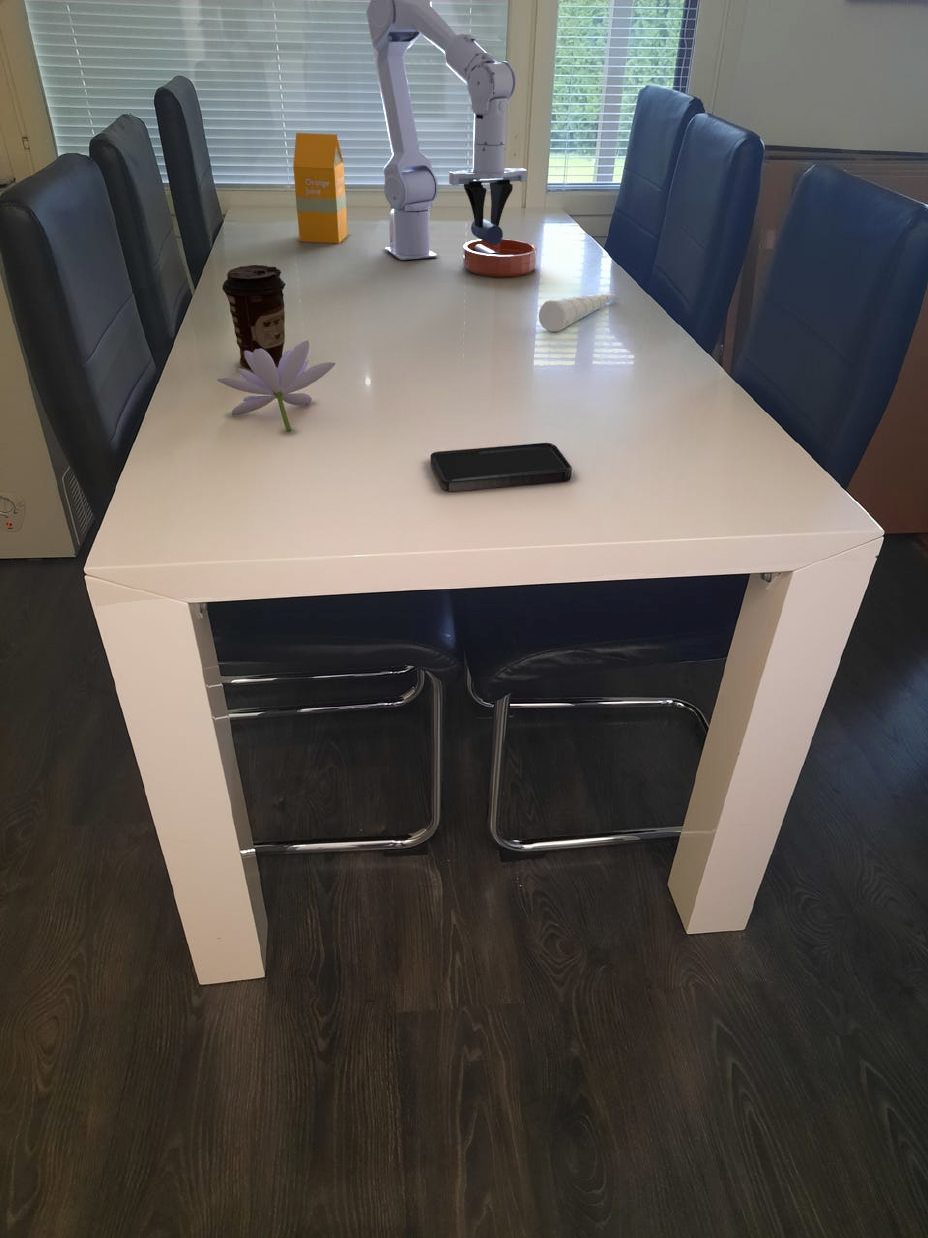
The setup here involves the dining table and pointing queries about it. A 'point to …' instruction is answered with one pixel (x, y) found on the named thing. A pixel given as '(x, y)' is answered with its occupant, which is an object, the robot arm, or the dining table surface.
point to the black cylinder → (484, 250)
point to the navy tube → (488, 232)
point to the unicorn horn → (569, 310)
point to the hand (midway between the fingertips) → (486, 225)
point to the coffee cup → (257, 310)
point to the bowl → (501, 258)
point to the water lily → (276, 379)
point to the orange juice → (320, 188)
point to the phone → (499, 466)
